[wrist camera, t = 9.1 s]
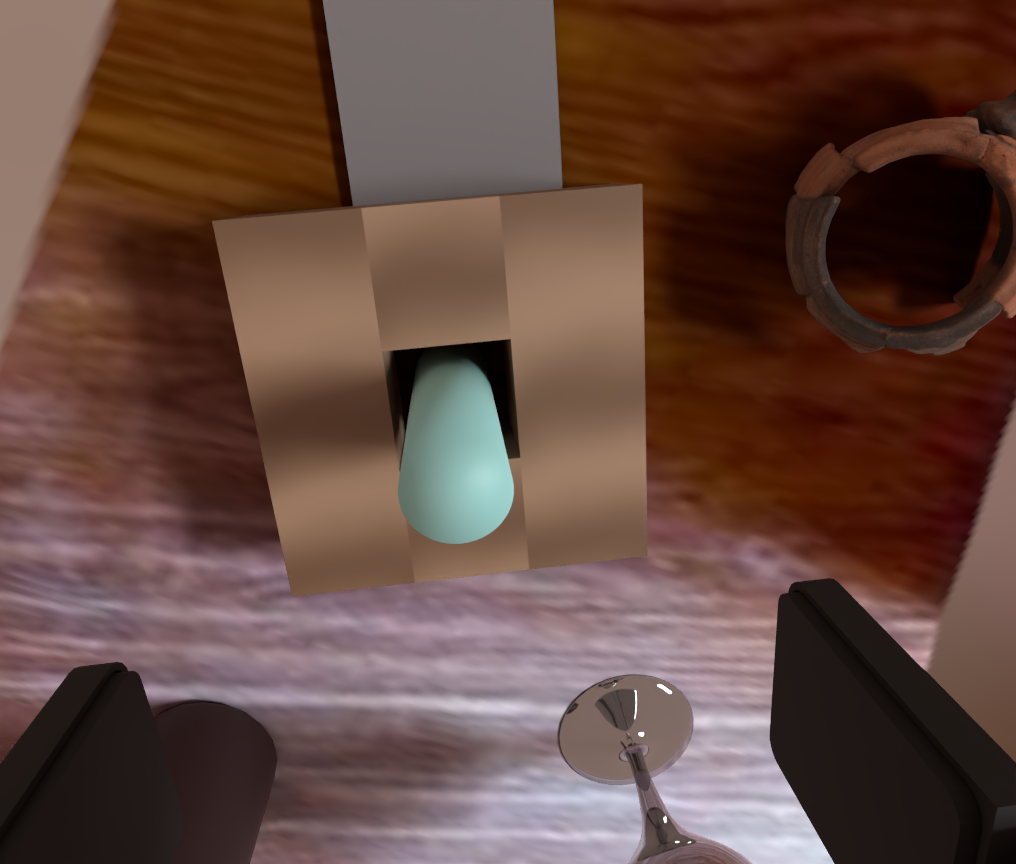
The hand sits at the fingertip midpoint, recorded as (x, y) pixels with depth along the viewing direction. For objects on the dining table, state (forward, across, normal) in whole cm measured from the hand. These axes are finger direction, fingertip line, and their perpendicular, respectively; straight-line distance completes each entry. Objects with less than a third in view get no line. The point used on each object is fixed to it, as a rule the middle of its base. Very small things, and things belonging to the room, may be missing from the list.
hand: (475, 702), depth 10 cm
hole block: (+20, 0, 0) cm, 20 cm away
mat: (+20, -1, -10) cm, 23 cm away
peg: (+20, 0, 0) cm, 20 cm away
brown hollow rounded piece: (+21, -19, -5) cm, 28 cm away
